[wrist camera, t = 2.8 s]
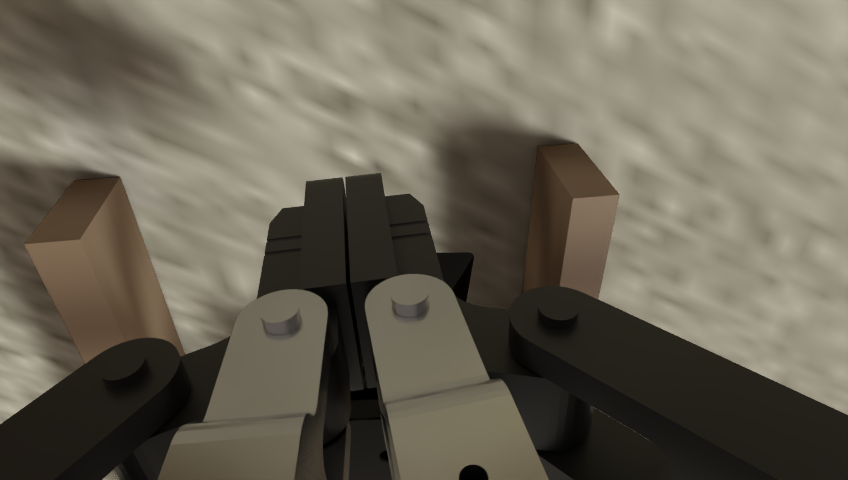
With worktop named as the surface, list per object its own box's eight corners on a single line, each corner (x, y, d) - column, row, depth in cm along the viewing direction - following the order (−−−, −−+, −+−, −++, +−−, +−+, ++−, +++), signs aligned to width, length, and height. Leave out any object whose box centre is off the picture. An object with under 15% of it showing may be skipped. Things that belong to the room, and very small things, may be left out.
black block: (453, 444, 25) (474, 551, 21) (284, 454, 24) (275, 568, 20) (500, 205, 18) (542, 302, 14) (264, 203, 17) (244, 307, 13)
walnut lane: (73, 180, 15) (24, 244, 13) (577, 143, 17) (619, 194, 14) (221, 533, 26) (209, 606, 23) (525, 493, 27) (544, 558, 24)
